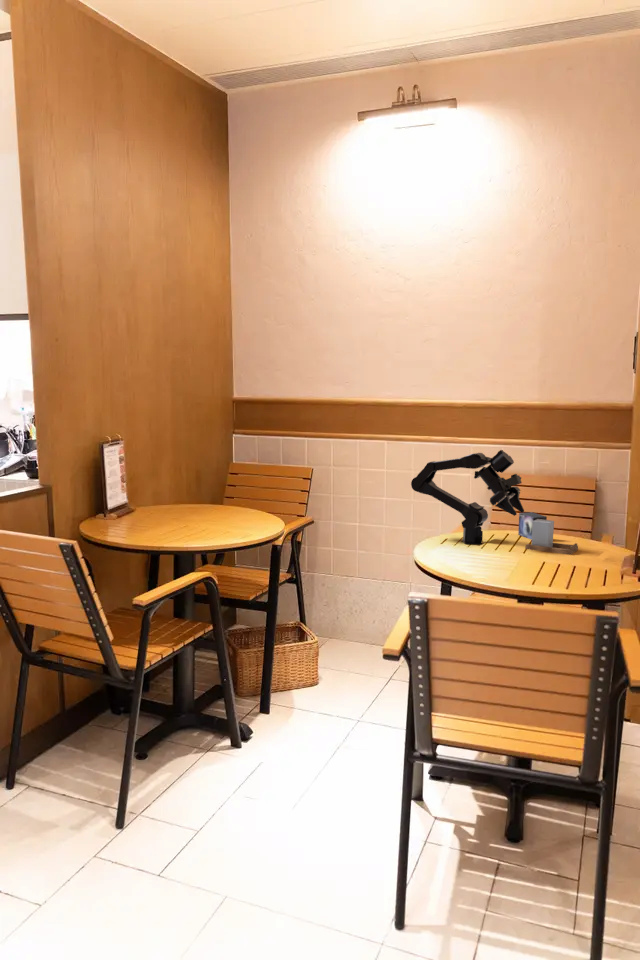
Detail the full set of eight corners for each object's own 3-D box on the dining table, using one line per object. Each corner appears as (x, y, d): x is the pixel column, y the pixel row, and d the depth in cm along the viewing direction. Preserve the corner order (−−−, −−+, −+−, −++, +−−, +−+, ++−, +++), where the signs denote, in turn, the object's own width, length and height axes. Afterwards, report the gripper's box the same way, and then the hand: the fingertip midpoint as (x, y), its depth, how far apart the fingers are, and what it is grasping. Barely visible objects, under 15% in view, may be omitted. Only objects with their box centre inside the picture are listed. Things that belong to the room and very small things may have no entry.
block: (531, 548, 282) (532, 521, 281) (536, 545, 287) (537, 519, 286) (547, 550, 279) (549, 523, 277) (552, 547, 284) (554, 520, 282)
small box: (516, 538, 308) (518, 512, 307) (531, 537, 310) (532, 511, 309) (531, 543, 298) (533, 516, 297) (546, 543, 300) (547, 516, 299)
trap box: (525, 552, 281) (525, 541, 281) (534, 548, 290) (534, 537, 289) (569, 558, 272) (570, 547, 272) (577, 553, 281) (578, 543, 281)
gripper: (500, 469, 279) (528, 503, 275) (517, 465, 295) (543, 497, 291) (478, 488, 284) (505, 521, 280) (495, 483, 300) (521, 515, 296)
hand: (519, 513), depth 286 cm, fingers open, 9 cm apart
